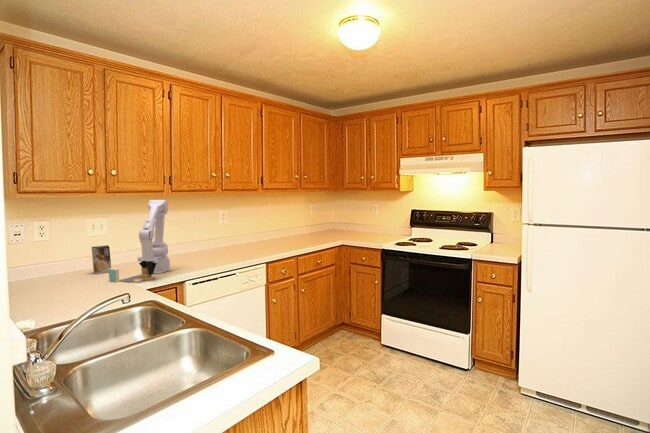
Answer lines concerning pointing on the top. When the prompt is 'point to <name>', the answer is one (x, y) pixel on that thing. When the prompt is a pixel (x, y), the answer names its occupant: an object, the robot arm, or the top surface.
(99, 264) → the coffee box
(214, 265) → the top surface
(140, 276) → the mat
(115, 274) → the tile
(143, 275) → the brown l-shaped block
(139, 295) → the top surface
